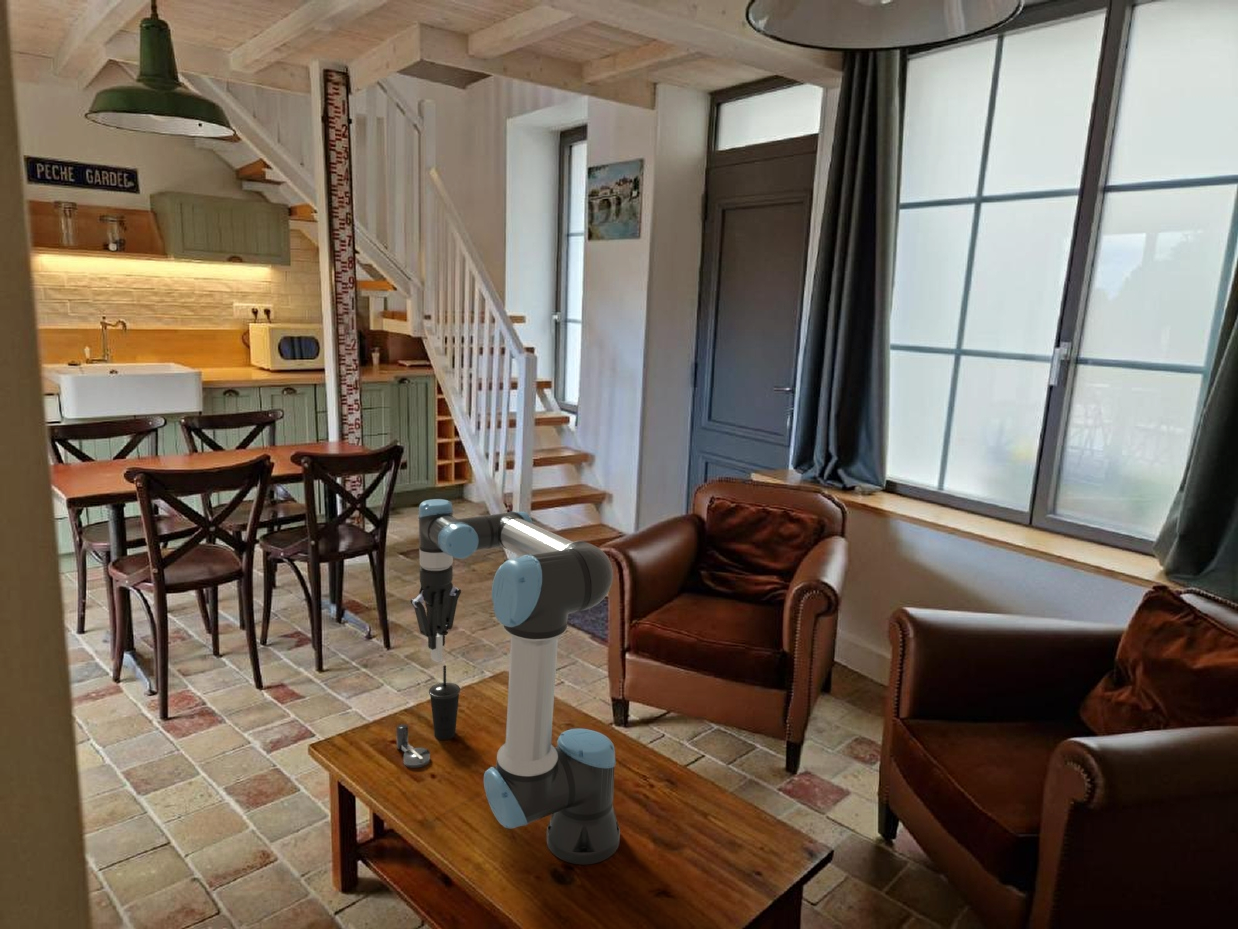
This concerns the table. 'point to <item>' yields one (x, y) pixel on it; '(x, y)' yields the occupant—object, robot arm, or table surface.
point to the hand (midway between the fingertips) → (436, 660)
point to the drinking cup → (444, 708)
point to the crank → (411, 750)
